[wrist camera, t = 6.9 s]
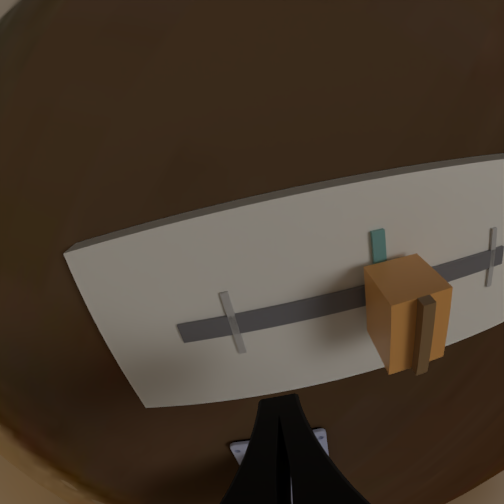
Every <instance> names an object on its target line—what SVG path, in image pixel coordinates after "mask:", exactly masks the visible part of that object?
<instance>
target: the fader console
mask: <svg viewBox="0 0 504 504" xmlns="http://www.w3.org/2000/svg"><path fill="white" fill-rule="evenodd" d="M416 253H417V254H418V255H419V256H420V257H421V258H422V259H423V260H425V261H426V262H427V263H428V264H429V265H430V266H431V267H432V268H433V269H434V270H435V271H436V272H438V273H439V274H440V275H441V276H442V277H443V278H444V279H445V280H446V281H447V282H448V283H449V284H450V285H451V286H452V287H453V290H452V300H451V308H450V316H449V323H448V330H447V337H446V343H445V346H447V345H450V344H453V343H455V342H458V341H460V340H463V339H465V338H468V337H470V336H472V335H475V334H477V333H480V332H482V331H484V330H487V329H489V328H491V327H493V326H495V325H498V324H500V323H502V322H504V153H501V154H492V155H483V156H475V157H468V158H460V159H453V160H445V161H439V162H432V163H425V164H419V165H412V166H406V167H400V168H394V169H388V170H382V171H376V172H370V173H365V174H359V175H354V176H349V177H343V178H338V179H333V180H328V181H323V182H318V183H313V184H308V185H303V186H298V187H293V188H288V189H284V190H279V191H274V192H270V193H265V194H261V195H256V196H252V197H248V198H243V199H239V200H235V201H230V202H226V203H222V204H218V205H214V206H210V207H206V208H202V209H198V210H194V211H190V212H186V213H182V214H178V215H174V216H170V217H166V218H163V219H159V220H155V221H151V222H148V223H144V224H140V225H137V226H133V227H130V228H126V229H122V230H119V231H115V232H112V233H108V234H105V235H102V236H98V237H95V238H91V239H88V240H85V241H81V242H78V243H75V244H74V245H73V246H72V247H70V248H69V249H68V250H67V251H66V252H65V253H63V254H64V257H65V259H66V261H67V264H68V266H69V268H70V271H71V273H72V275H73V277H74V280H75V282H76V284H77V286H78V288H79V291H80V293H81V295H82V297H83V299H84V301H85V303H86V305H87V307H88V309H89V311H90V313H91V315H92V317H93V319H94V321H95V323H96V325H97V327H98V329H99V331H100V333H101V334H102V336H103V338H104V340H105V342H106V344H107V345H108V347H109V349H110V351H111V352H112V354H113V356H114V358H115V359H116V361H117V363H118V365H119V366H120V368H121V370H122V371H123V373H124V374H125V376H126V378H127V379H128V381H129V383H130V384H131V386H132V387H133V389H134V390H135V392H136V394H137V395H138V397H139V398H140V400H141V401H142V403H143V404H144V406H145V407H146V408H152V407H168V406H181V405H192V404H202V403H211V402H219V401H227V400H234V399H241V398H248V397H254V396H261V395H266V394H272V393H278V392H283V391H288V390H293V389H298V388H303V387H308V386H312V385H317V384H321V383H326V382H330V381H334V380H338V379H342V378H346V377H350V376H354V375H357V374H361V373H365V372H368V371H372V370H375V369H379V368H382V367H385V366H384V364H383V362H382V360H381V358H380V356H379V354H378V352H377V350H376V348H375V346H374V344H373V342H372V340H371V338H370V336H369V334H368V332H367V318H366V297H365V281H364V268H363V267H364V266H368V265H372V264H376V263H380V262H385V261H389V260H393V259H396V258H400V257H404V256H408V255H412V254H416Z"/></svg>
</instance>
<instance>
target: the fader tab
mask: <svg viewBox="0 0 504 504" xmlns="http://www.w3.org/2000/svg"><path fill="white" fill-rule="evenodd" d="M363 268H364V281H365V297H366V318H367V332H368V334H369V336H370V338H371V340H372V342H373V344H374V346H375V348H376V350H377V352H378V354H379V356H380V358H381V360H382V362H383V364H384V366H385V368H386V370H387V372H388V374H389V375H390V374H393V373H396V372H399V371H402V370H405V369H408V368H411V367H412V369H413V371H414V373H415V374H416V376H417V375H420V374H422V373H425V372H427V370H428V365H429V361H431V360H434V359H437V358H439V357H442V356H443V354H444V348H445V343H446V337H447V330H448V323H449V316H450V308H451V300H452V290H453V287H452V286H451V285H450V284H449V283H448V282H447V281H446V280H445V279H444V278H443V277H442V276H441V275H440V274H439V273H438V272H436V271H435V270H434V269H433V268H432V267H431V266H430V265H429V264H428V263H427V262H426V261H425V260H423V259H422V258H421V257H420V256H419V255H418V254H417V253H416V254H412V255H408V256H404V257H400V258H396V259H393V260H389V261H385V262H380V263H376V264H372V265H368V266H364V267H363Z"/></svg>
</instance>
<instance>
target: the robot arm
mask: <svg viewBox="0 0 504 504" xmlns="http://www.w3.org/2000/svg"><path fill="white" fill-rule="evenodd" d="M230 449H231V451H232V453H233V454H234V456H235V458H236V460H237V461H238V463H239V465H240V467H239V469H238V471H237V473H236V475H235V477H234V479H233V481H232V483H231V485H230V487H229V489H228V491H227V492H226V494H225V496H224V497H223V499H222V501H221V502H220V504H370V503H369V502H368V501H367V500H366V499H365V498H364V497H363V496H362V495H361V494H360V493H359V492H358V491H357V490H356V489H355V488H354V487H353V486H352V485H351V484H350V482H349V481H348V480H347V479H346V478H345V477H344V475H343V474H342V473H341V472H340V471H339V469H338V468H337V467H336V466H335V464H334V463H333V462H332V460H331V459H330V457H329V454H328V445H327V437H326V431H325V429H323V428H319V429H314V430H312V429H311V427H310V425H309V423H308V421H307V419H306V417H305V414H304V412H303V410H302V407H301V404H300V401H299V396H298V395H297V394H289V395H284V396H279V397H273V398H268V399H262V400H260V401H259V405H258V411H257V416H256V420H255V424H254V428H253V432H252V435H251V438H250V440H249V441H241V442H233V443H231V444H230Z"/></svg>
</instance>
